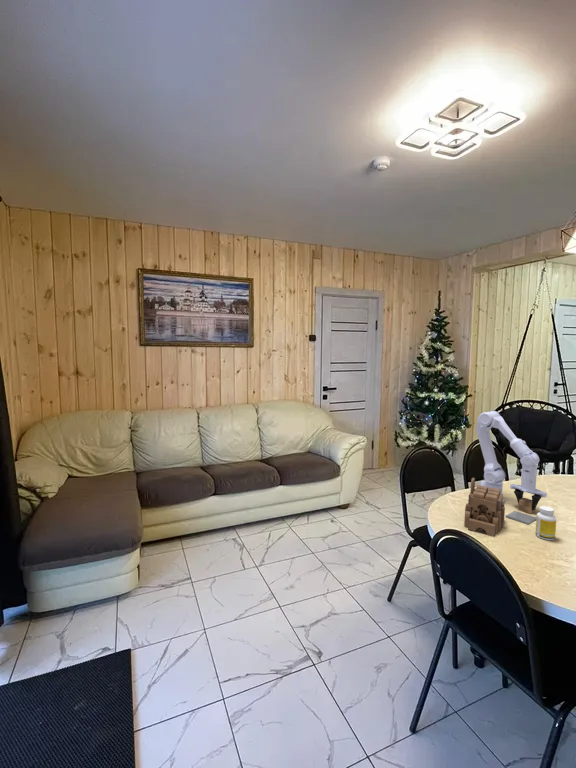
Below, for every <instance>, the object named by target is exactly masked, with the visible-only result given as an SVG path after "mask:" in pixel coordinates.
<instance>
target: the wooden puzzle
mask: <svg viewBox="0 0 576 768" xmlns="http://www.w3.org/2000/svg"><path fill="white" fill-rule="evenodd" d="M470 480H471V481H470V493H469V494H468V503H465V508H464V524H463V525H464V526H463V527H464V528H467V530H469V531H472V532H476V530H481V531H485V533H486V535H488V536H490V537H491V536H492V537H495V535H498V533H500V532H501V529H504V528H505V526H504V525H505V516H506V513H505V512H506V507H505V505H506V504H505V503H504V502H503V500H504V494H503V493H502V494H501V490H500V489H496V488H491V487H490V488H489V490H488V487H485V486H480V485H479V484H477V486H476V479H475V477H471V479H470Z"/></svg>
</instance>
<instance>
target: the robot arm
mask: <svg viewBox="0 0 576 768" xmlns="http://www.w3.org/2000/svg"><path fill="white" fill-rule="evenodd" d="M476 420H477V422H476V428H475V430H476V434H477V438H478V441H479V445H480V446H479V447H480V449H481V452H482V453H481V454H482V456H483V459H484V460H483V461H484V466H483V467H484V468H483V472H484V473H483V479H484V480H482V481H481V482H480V483H479V484H480V486H485V487H488V490H489V488H490V487H491V488H496V489H500V490H501V494H503V484H504V483H503V481H504V480H505V479H506V472H505V470H504V469H503V468H502V466H501V464H500V463H499V462H498V460H497V456H496V452H495V449H494V446H493V442H492V439H491V435H490V430H491V429H492V428H495V429H498V430H499V431H500V433H502V435H503V437H505V438H506V439H507V440H508V442H509V447H510V448H511V449H512V450H513V451H514V453H515V454H516V455H517V456H518V458H520V459H519V462H520V464H521V479H520V480H521V482H520V484H515V483H510V485H509V486H510V487H509V488H510V489H511V490H514V491H513V493H514V495H515V497H516V499H517V503H518V504H517V505H518V506H519V500H520V499H522V498H524V493H527V494H531V500H532V510H533V511H534V510H535V511H536V509H537V507H538V504H539V501H541V499H542V498H544V499H545V498H547V497H548V492H546V491H542V490H540V489H537V488H536V486H537V474H538V473H537V471H538V464H539V463H540V457H539V455H538V454H537V453H536V452H533V449H532V450H531V449H530V448H529V446H528V445H527V442H526V441H525V440H522V439H523V438H518V437H517V436H516V435H515V434H514V432H513V431H512V429H511V428H510V427H509V426H508V424H507V423H506V421H505V420H504V418H503V416H501V415H500V413H499V412H498V411H496V410H491V411H487V412H486V411H484V412H481V413H480V414H479V415H478V417H477V418H476ZM504 502H506V499H503V503H504Z"/></svg>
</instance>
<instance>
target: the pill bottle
mask: <svg viewBox="0 0 576 768" xmlns="http://www.w3.org/2000/svg"><path fill="white" fill-rule="evenodd" d="M554 514H555V509H554V508H553V507H550V506H544V505H541V506H539V512H537V513H536V516H535V517H536V520H535V535H536V536H537V537H538V538H540V539H542V540H545V541H554V540H555V539H556V532H557V531H556V530H557V517H556V516H555V515H554Z"/></svg>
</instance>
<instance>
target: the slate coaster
mask: <svg viewBox="0 0 576 768" xmlns="http://www.w3.org/2000/svg"><path fill="white" fill-rule="evenodd" d="M505 518H506V519H510V520H513V521H515V522H519V523H522V524H525V525H531V524H532V523H533V522H536V516H533V515H531V514H528V513H525V512H522V511H517V510H514V511H511V512H509V513H508V514H505Z"/></svg>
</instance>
